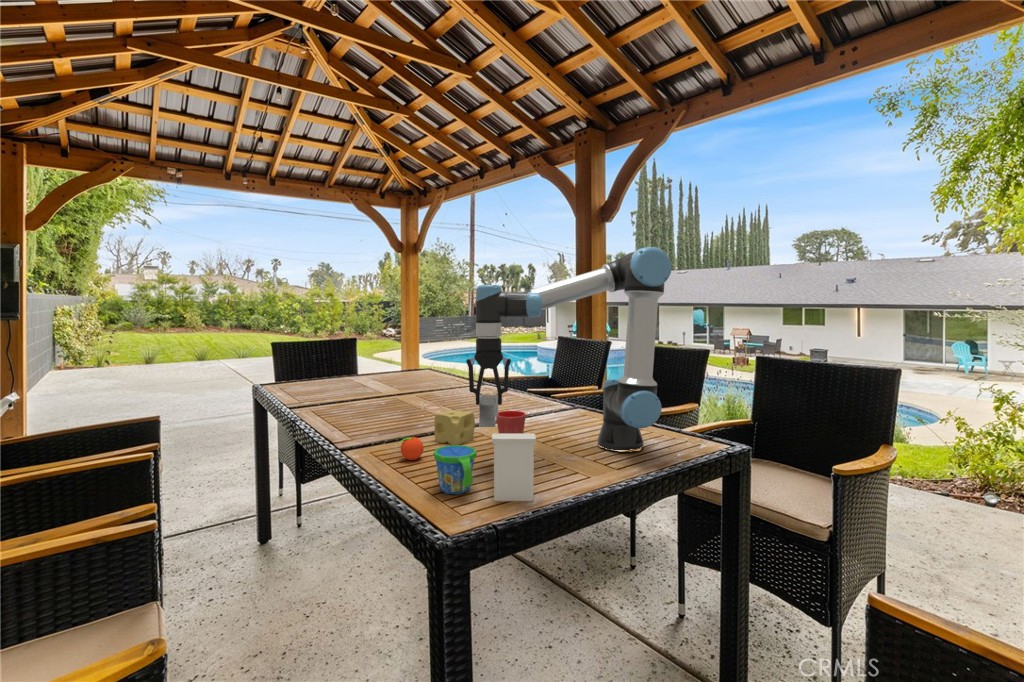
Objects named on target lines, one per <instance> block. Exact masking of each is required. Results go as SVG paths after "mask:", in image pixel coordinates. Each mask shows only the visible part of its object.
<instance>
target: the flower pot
mask: <svg viewBox="0 0 1024 682" xmlns="http://www.w3.org/2000/svg"><path fill="white" fill-rule="evenodd" d="M526 417H527V414H526V412H525V411H521V410H502V411H498V417H496V418H495V421H496V424H497V425H496V426H497V431H498V434H524V430H525V423H526Z"/></svg>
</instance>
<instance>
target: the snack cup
mask: <svg viewBox="0 0 1024 682" xmlns="http://www.w3.org/2000/svg"><path fill="white" fill-rule="evenodd" d="M477 454H478V453H477V450H476V449H475V448H474V447H472V446H468V445H462V444H460V445H450V444H449V445H445V446H440V447H438V448H436V449H435V450H434V451H433V458H434V459H435V464H436V470H437V471H436V472H437V477H438V485H439V489H440V491H441V492H444V493H445V494H446V495H450V494H451V495H461V494H463V493H466V492H467V491H469V490H470V489H471V485H472V484H473V483H474V477H473V470H474V464H475V463H474V462H475V460H476V457H477Z"/></svg>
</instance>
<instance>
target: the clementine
mask: <svg viewBox="0 0 1024 682" xmlns="http://www.w3.org/2000/svg"><path fill="white" fill-rule="evenodd" d="M401 442H402V443H401ZM400 443H401V445H400V454H401V455H402V457H403V458H404V459H406V460H407V461H414V460H415V461H416V460H417V459H419V458H420V457H421V456H422V455H423V452H424V451H425V450H424V449H425V448H424V444H423V441H422V440H421V439H420V438H418V437H415V436H410V437H404V438H403V439H402V440H400V441H399V442H398V444H400Z"/></svg>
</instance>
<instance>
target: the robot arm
mask: <svg viewBox="0 0 1024 682" xmlns="http://www.w3.org/2000/svg"><path fill="white" fill-rule="evenodd" d="M672 269H673V267H672V262H671V259H670V257H669V256H668V254H667V253H666V252H665V251H664V250H662V249H661V248H659V247H654V246H648V247H641V248H638V249H637V250H634V251H632V252H629V253H627V254H625V255H624V256H621V257H619V258H617V259H615V260H613V261H610V262H607V263H604V264H602V266H601V267H600V268H598V269H595V270H591V271H588V272H585V273H581V274H578V275H575V276H572V277H569V278H568V277H567V278H565V279H561V280H557V281H555V282H551V283H548V284H544V285H542V286H538V287H534V288H531V289H528V290H525V291H509V292H508V291H506V292H505V291H503V290H502V286H501V285H499V284H481V285H478V286H477V287H476V289H475V290H476V291H475V336H476V337H477V338H476V339H475V354H474V356H473V357H470V358H467V359H466V360H465V362H466V365H467V367H468V386H469V389H468V391H469V392H470V393H473V394H475V405H476V406H479V405H480V403H481V399H482V396H483V393H482V392H481V390H482V389H481V388H482V384H483V377H484V375H485V370H487V369H490V370H492V372H493V377H494V381H495V386H496V391H497V392H495V394H494V395H495V398H496V417H498V412H499V406H500V405H501V406H502V403H503V394H505V393H508V391H509V371H510V369H509V368H510V365H511V363H512V360H511V358H507V357H505V356H504V355H503V354H502V338H501V336H502V318H517V319H518V318H531V319H532V318H539V317H540V316H541V315H542V311H544V310H547V309H550V308H554V307H557V306H561V305H564V304H566V303H570V302H574V301H577V300H580V299H583V298H587V297H590V296H594V295H597V294H600V293H603V292H609V293H615V292H618V291H622V290H624V294H625V296H627V297H628V305H627V306H628V307H627V319H626V320H627V322H626V335H625V336H626V337H625V351H624V363H623V364H624V366H623V368H624V369H623V375H622V376H621V378H619V379H616V378H615V379H613V378H612V379H606V380H605V381H604V382H603V388H602V391H603V398H602V399H603V404H602V405H603V407H602V411H603V415H602V416H603V418H602V421H603V422H602V425H601V428H600V431H599V434H598V436H597V446H598V445H600V446H602V447H604V448H607V449H613V450H630V449H637V448H640V447H642V446H643V447H644V439H643V436H642V433H641V430H640V429H645V428H649V427H651V426H653V425H654V424H655V423H656V422H657V421H658V420H659V418H660V416H661V413H662V403H661V401H660V400H661V399H660V397H658V396H657V394H658V393H657V392H658V383H657V381H655V380H654V377H653V373H654V363H655V362H654V361H655V348H656V345H655V344H656V331H657V320H658V319H657V318H658V317H657V316H658V307H659V305H658V304H659V300H660V298H661V297H662V296H663V295H665V283H666V282H667V281H668V279H670V276H671V274H672ZM475 361H476V363H477V364H478V365H479V367H480V368H479V373H478V379H477V384H476V388H475V380H474V379H475V378H474V366H475ZM501 362H502V363H503V365H504V371H503V372H504V373H503V376H504V380H503V388H502V384H501V380H500V376H499V369H498V366H499V365H500V363H501Z"/></svg>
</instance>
